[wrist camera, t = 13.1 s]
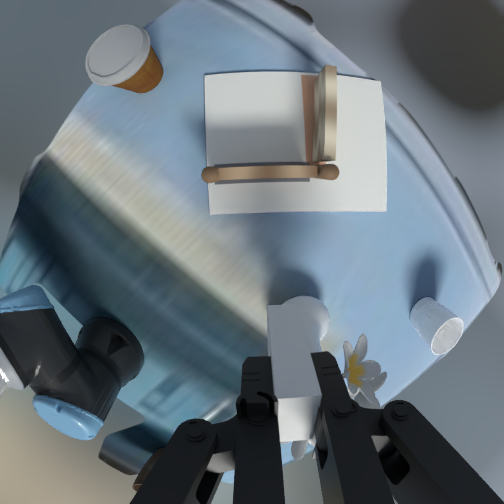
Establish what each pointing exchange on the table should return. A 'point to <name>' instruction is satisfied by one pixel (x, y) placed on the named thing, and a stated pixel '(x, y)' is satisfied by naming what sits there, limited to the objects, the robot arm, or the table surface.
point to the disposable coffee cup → (124, 60)
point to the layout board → (293, 143)
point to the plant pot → (146, 469)
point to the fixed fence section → (270, 172)
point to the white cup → (436, 325)
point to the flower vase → (355, 371)
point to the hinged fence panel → (325, 115)
